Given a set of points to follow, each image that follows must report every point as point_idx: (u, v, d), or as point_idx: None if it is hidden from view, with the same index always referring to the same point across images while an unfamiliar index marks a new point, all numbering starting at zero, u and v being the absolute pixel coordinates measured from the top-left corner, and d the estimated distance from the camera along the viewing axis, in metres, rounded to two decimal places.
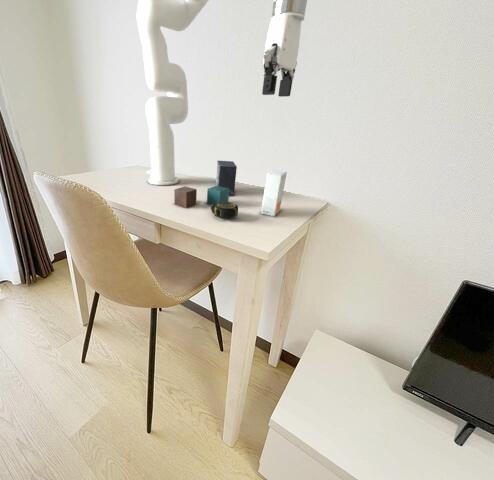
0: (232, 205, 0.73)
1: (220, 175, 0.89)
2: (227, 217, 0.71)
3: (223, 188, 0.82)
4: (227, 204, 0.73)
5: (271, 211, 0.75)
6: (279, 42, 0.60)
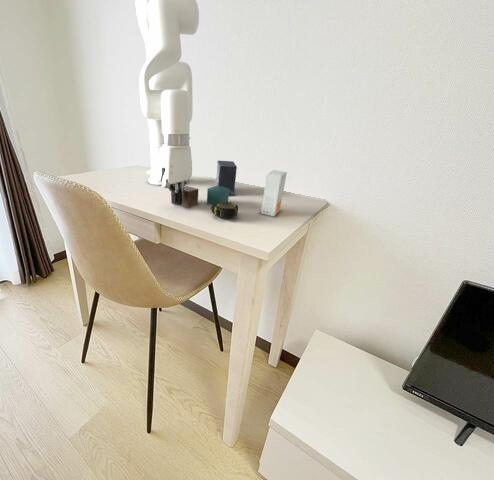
0: (232, 205, 0.73)
1: (220, 175, 0.89)
2: (227, 217, 0.71)
3: (223, 188, 0.82)
4: (227, 204, 0.73)
5: (271, 211, 0.75)
6: (167, 167, 0.71)
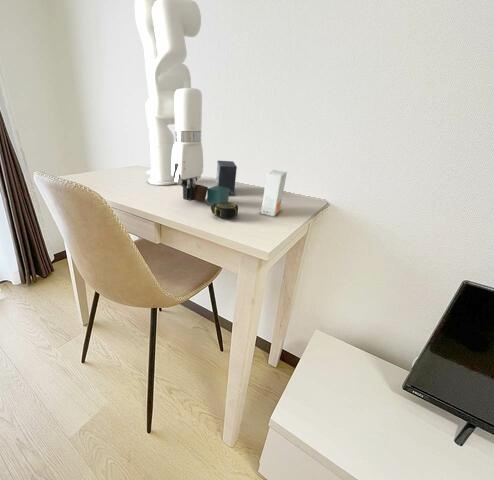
0: (232, 205, 0.73)
1: (220, 175, 0.89)
2: (227, 217, 0.71)
3: (223, 188, 0.82)
4: (227, 204, 0.73)
5: (271, 211, 0.75)
6: (179, 163, 0.73)
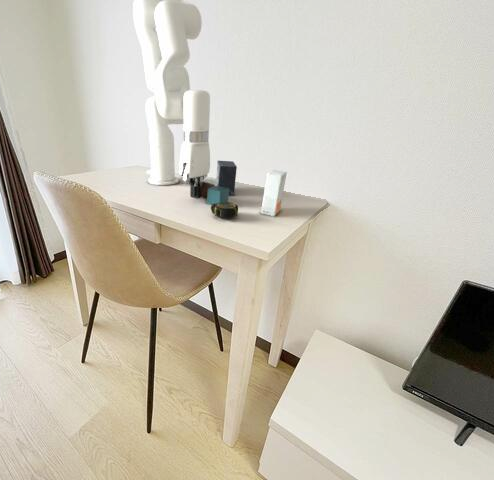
0: (232, 205, 0.73)
1: (220, 175, 0.89)
2: (227, 217, 0.71)
3: (223, 188, 0.82)
4: (227, 204, 0.73)
5: (271, 211, 0.75)
6: (188, 162, 0.76)
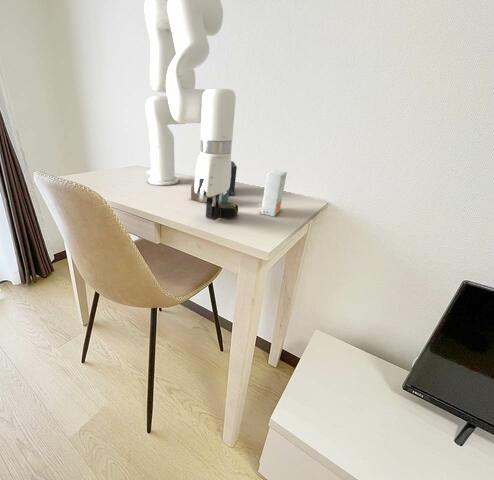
0: (232, 205, 0.73)
1: None
2: (227, 217, 0.71)
3: None
4: (227, 204, 0.73)
5: (271, 211, 0.75)
6: (206, 179, 0.61)
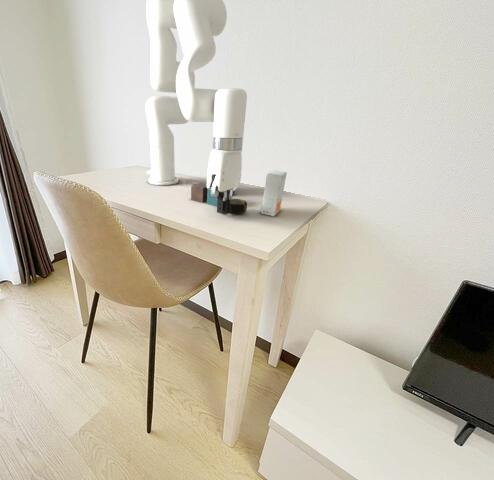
0: (241, 201, 0.76)
1: None
2: (237, 212, 0.74)
3: None
4: (236, 200, 0.76)
5: (271, 211, 0.75)
6: (218, 174, 0.64)
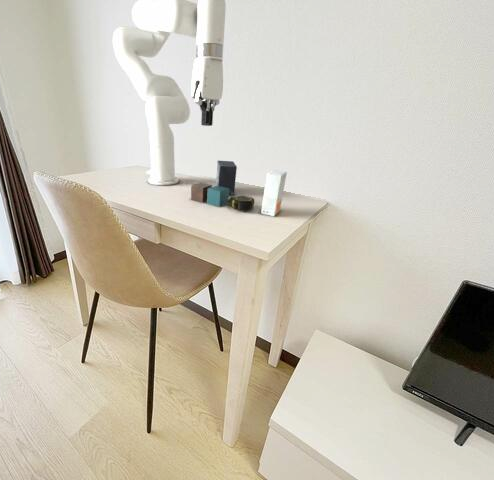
0: (248, 198, 0.79)
1: (220, 175, 0.89)
2: (245, 209, 0.77)
3: (223, 188, 0.82)
4: (243, 197, 0.79)
5: (271, 211, 0.75)
6: (201, 79, 0.72)
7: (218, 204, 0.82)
